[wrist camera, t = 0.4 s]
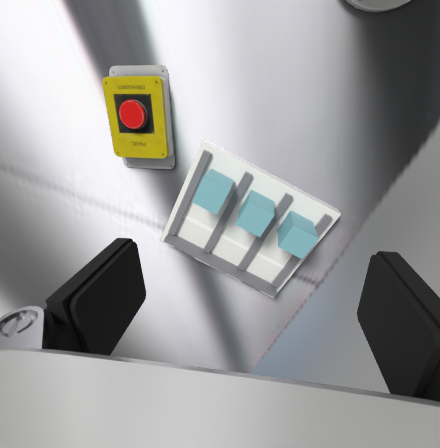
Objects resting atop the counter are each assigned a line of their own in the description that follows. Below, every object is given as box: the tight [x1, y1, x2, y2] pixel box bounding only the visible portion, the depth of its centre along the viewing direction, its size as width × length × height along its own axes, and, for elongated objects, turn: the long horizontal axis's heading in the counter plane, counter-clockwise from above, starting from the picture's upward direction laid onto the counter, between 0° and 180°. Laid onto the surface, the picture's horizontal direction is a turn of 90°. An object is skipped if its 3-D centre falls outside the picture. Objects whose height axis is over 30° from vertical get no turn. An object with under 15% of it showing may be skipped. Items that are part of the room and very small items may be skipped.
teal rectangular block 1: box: [192, 169, 234, 215], centre depth 37 cm, size 4×4×6 cm
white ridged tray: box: [160, 139, 341, 298], centre depth 43 cm, size 20×24×4 cm
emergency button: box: [102, 65, 175, 169], centre depth 38 cm, size 9×4×15 cm
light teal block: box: [235, 190, 274, 237], centre depth 38 cm, size 4×4×6 cm
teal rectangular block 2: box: [277, 211, 319, 259], centre depth 38 cm, size 4×4×6 cm
